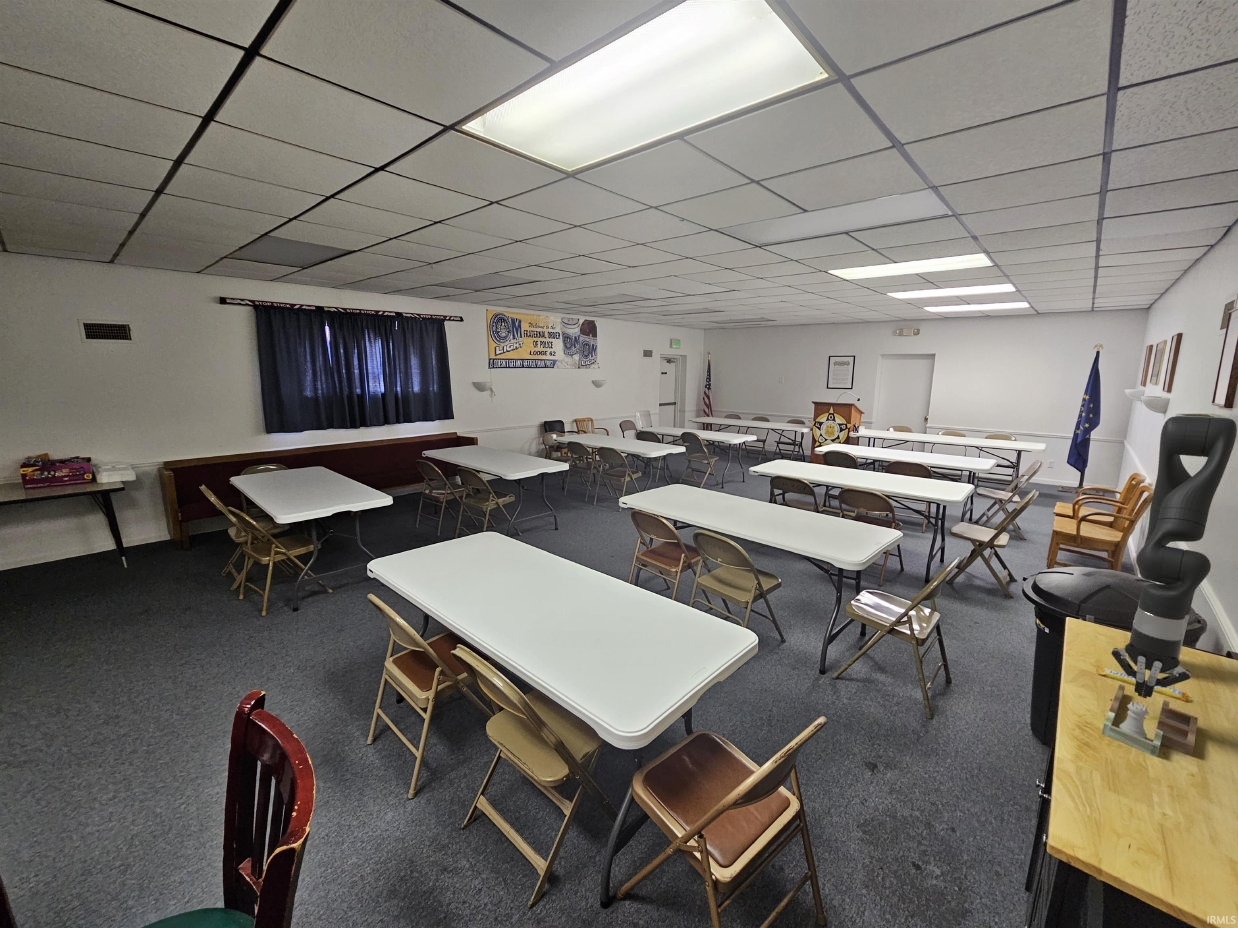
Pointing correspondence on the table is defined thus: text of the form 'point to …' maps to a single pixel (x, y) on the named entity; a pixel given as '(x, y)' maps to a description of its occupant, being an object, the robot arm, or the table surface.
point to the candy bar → (1132, 681)
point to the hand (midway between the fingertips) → (1142, 695)
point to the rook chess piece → (1135, 720)
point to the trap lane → (1174, 726)
